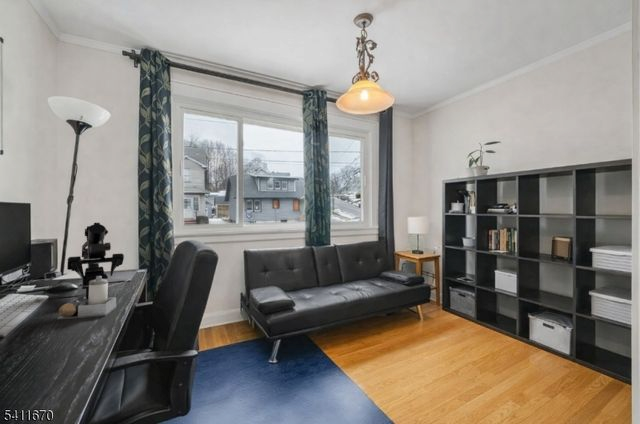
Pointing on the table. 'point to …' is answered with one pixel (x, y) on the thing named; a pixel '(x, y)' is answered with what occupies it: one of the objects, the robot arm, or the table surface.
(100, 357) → the table surface
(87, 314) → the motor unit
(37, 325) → the table surface
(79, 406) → the table surface
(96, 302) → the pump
